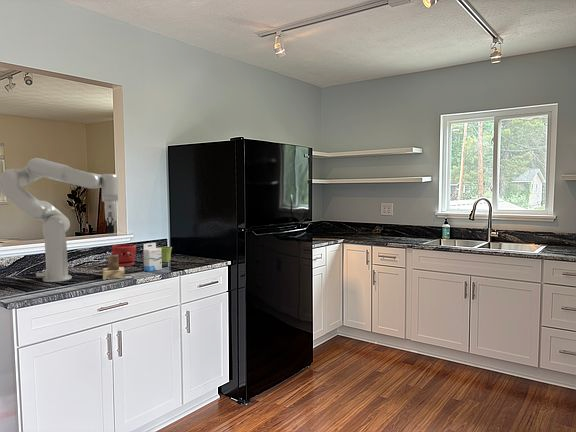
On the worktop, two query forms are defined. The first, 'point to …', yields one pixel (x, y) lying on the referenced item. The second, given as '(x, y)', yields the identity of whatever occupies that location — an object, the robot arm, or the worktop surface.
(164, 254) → the plant pot
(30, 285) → the worktop surface
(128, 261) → the plant pot
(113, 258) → the walnut block
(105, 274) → the maple block
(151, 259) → the ink box
